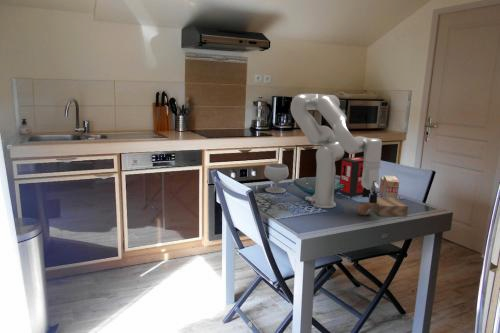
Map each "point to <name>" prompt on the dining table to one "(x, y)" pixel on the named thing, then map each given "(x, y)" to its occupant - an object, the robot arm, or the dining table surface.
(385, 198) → the walnut base block
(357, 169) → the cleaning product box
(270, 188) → the chalice
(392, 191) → the stack of blocks
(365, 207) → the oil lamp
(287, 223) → the dining table surface
